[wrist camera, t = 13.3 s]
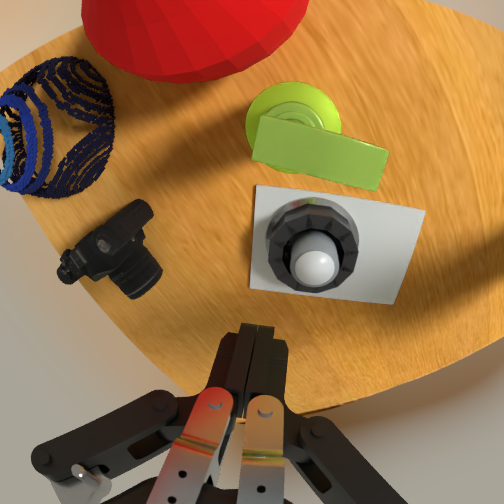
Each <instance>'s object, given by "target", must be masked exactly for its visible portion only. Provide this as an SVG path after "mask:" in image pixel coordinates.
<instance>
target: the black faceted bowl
mask: <svg viewBox="0 0 504 504" xmlns="http://www.w3.org/2000/svg"><path fill="white" fill-rule="evenodd" d="M308 228H314V229H321V230H327V231H329V232H330V233H331V234H333V236H334V239H335V244H336V249H337V255H338V260H339V271H338V274H337V275H336V277H335V278H334V279H333V280H332V281H331V282H330V283H328V284H326V285H324V286H321V287H308V286H305V285H302V284H300V283H299V282H298V281H296V280H295V278H294V277H293V275H292V273H291V270H290V263H291V251H292V240H293V237H294V235H295V233H297V232H300V231H303V230H306V229H308ZM265 244H266V250H267V254H268V263H269V265H270V266H271V268H272V270H273V272H274V274H275V276H276V278H277V280H279V281H281V282H282V283H284V284H285V285H287V286H288V287H290V288H292V289H293V290H295V291H301V292H309V293H320V292H324V291H327V290H330V289H333V288H336V287H339V286H340V285H341V284H342V283H343V282H344V281H345V280H346V279H347V278H348V277H349V276H350V275H351V274H352V273H353V272H354V268H355V265H356V261H357V257H358V253H359V251H358V246H359V233H358V229H357V226H356V224H355V221H354V220H353V218H352V216H351V215H350V214H349V213H348V211H347V210H346V209H344V208H343V207H342V206H341V205H339V204H338V203H336V202H334V201H331V200H328V199H325V198H320V197H305V198H300V199H297V200H294V201H292V202H289V203H288V204H286V205H284V206H283V207H282V208H281V209H279V210H278V211H277V212H276V213H275V215H274V216H273V217H272V219H271V221H270V223H269V225H268V228H267V231H266V237H265Z"/></svg>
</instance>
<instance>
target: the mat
mask: <svg viewBox="0 0 504 504" xmlns="http://www.w3.org/2000/svg"><path fill="white" fill-rule="evenodd" d="M305 197H320V198H325V199H328V200H331V201H334V202H336V203H338V204H339V205H341V206H342V207H343V208H344V209H346V210H347V211H348V213H349V214H350V215H351V216H352V218H353V220H354V221H355V224H356V226H357V229H358V233H359V246H358V251H359V253H358V257H357V261H356V265H355V268H354V272H353V273H352V274H351V275H350V276H349V277H348V278H347V279H346V280H345V281H344V282H343V283H342V284H341V285H340V286H339V287H336V288H333V289H330V290H327V291H324V292H320V293H309V292H301V291H295V290H293V289H292V288H290V287H288V286H287V285H285V284H284V283H282V282H281V281H279V280H277V278H276V276H275V274H274V272H273V270H272V268H271V266H270V265H269V263H268V254H267V250H266V244H265V237H266V231H267V228H268V225H269V223H270V221H271V219H272V217H273V216H274V215H275V213H276V212H277V211H278V210H279V209H281V208H282V207H283V206H284V205H286V204H288V203H289V202H292V201H294V200H297V199H300V198H305ZM425 212H426V211H425V210H423V209H418V208H413V207H408V206H402V205H397V204H392V203H386V202H381V201H375V200H369V199H363V198H357V197H351V196H344V195H338V194H331V193H324V192H317V191H310V190H302V189H294V188H286V187H277V186H268V185H259V184H257V185H256V200H255V215H254V230H253V245H252V260H251V275H250V288H252V289H260V290H267V291H275V292H282V293H290V294H298V295H306V296H315V297H323V298H332V299H341V300H350V301H360V302H370V303H380V304H390V305H393V304H394V301H395V299H396V297H397V294H398V292H399V289H400V287H401V284H402V281H403V279H404V276H405V273H406V271H407V268H408V265H409V262H410V260H411V257H412V254H413V251H414V248H415V245H416V242H417V239H418V236H419V232H420V229H421V226H422V223H423V219H424V216H425Z"/></svg>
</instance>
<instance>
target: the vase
mask: <svg viewBox="0 0 504 504" xmlns="http://www.w3.org/2000/svg"><path fill="white" fill-rule="evenodd" d="M308 3H309V0H82V10H81V17H82V21H83V25H84V29H85V33H86V36H87V38H88V39H89V41H90V42H91V44H92V45H93V47H94V48H95V50H96V52H97V53H99V54H100V55H101V56H102V57H104V58H105V59H106V60H108V61H109V62H110V63H111V64H113V65H114V66H116V67H118V68H120V69H122V70H124V71H126V72H129V73H132V74H134V75H137V76H140V77H142V78H145V79H148V80H151V81H162V82H171V83H192V82H200V81H209V80H216V79H219V78H222V77H225V76H228V75H231V74H234V73H237V72H241V71H244V70H245V69H247V68H249V67H250V66H252V65H254V64H256V63H257V62H259V61H261V60H263V59H264V58H266V57H268V56H270V55H271V54H272V53H273V52H274V51H275V50H276V49H277V48H278V47H279V46H281V45H282V44H283V43H284V42H285V41H286V40H287V39H288V38H290V37H291V35H292V34H293V32H294V31H295V29H296V28H297V26H298V24H299V23H300V21H301V20H302V18H303V17H304V15H305V13H306V10H307V6H308Z"/></svg>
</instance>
